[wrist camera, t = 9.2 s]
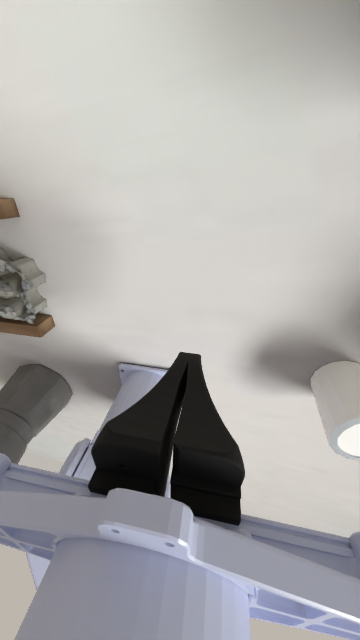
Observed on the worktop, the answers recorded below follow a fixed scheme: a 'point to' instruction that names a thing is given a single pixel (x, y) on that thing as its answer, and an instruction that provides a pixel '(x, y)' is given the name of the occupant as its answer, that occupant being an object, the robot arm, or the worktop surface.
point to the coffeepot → (29, 406)
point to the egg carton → (20, 288)
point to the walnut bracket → (42, 323)
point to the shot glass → (339, 405)
